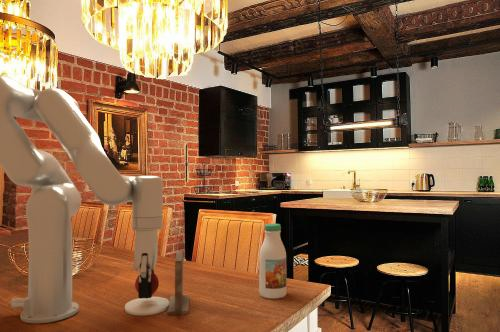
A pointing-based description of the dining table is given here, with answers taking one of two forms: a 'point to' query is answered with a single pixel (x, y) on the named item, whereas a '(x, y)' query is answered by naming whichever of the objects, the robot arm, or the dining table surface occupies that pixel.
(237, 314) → the dining table surface
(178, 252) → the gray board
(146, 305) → the coaster
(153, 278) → the onion
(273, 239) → the milk bottle
